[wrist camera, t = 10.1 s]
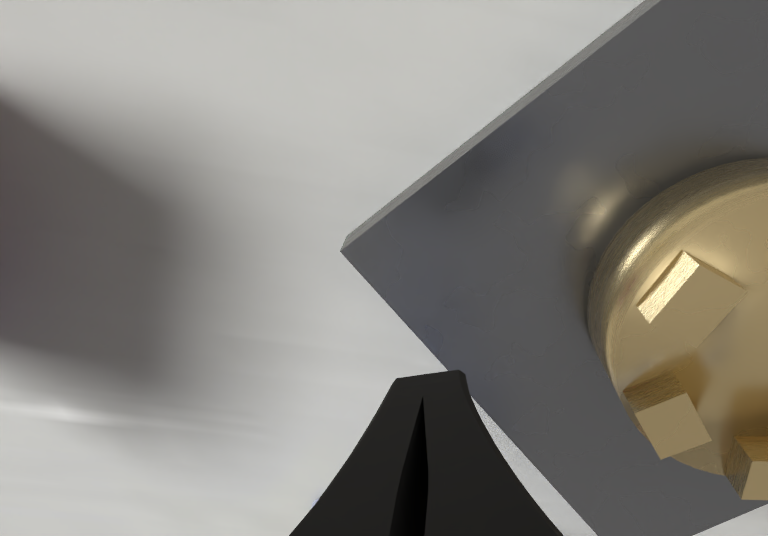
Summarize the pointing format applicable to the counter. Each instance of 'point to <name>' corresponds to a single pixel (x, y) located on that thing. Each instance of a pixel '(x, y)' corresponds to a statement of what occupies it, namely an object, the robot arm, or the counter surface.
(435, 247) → the plate
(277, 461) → the counter surface
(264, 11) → the counter surface
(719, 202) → the tan round handled piece
